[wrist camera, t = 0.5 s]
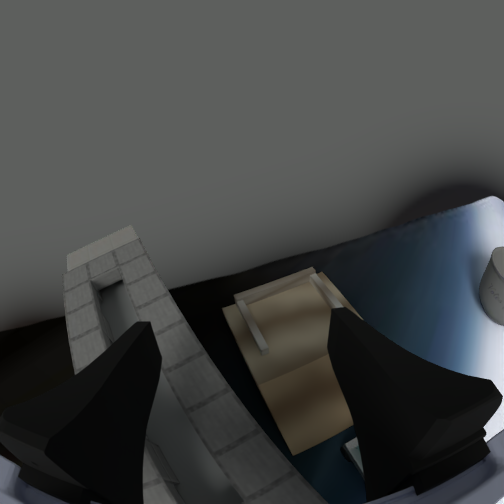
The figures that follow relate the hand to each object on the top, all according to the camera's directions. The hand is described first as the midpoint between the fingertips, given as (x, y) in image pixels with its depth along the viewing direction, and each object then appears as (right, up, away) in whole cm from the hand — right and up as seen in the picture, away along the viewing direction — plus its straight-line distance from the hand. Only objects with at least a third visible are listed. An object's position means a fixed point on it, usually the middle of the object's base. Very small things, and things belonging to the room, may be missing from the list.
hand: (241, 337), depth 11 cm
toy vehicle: (-7, -12, +14) cm, 20 cm away
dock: (+7, -8, +19) cm, 22 cm away
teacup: (+38, -6, +17) cm, 42 cm away
